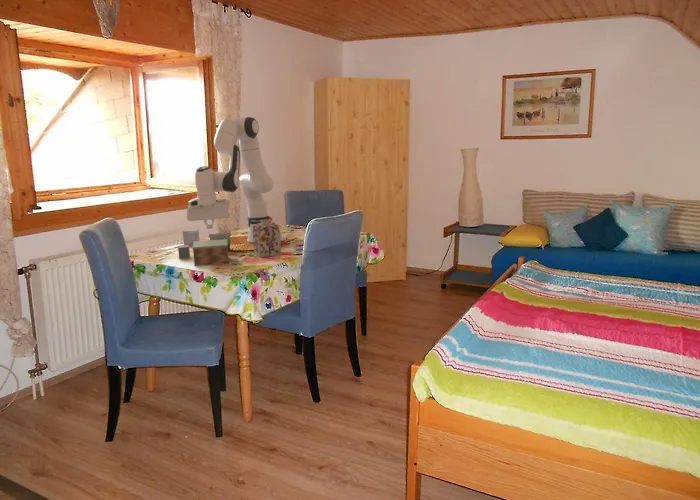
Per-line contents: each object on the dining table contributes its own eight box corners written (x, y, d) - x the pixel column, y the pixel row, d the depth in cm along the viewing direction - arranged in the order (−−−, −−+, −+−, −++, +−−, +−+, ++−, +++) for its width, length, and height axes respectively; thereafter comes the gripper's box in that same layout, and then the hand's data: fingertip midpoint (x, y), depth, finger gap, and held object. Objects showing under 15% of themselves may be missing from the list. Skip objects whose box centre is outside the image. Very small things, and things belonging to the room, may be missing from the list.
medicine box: (200, 244, 311) (198, 229, 309) (197, 246, 307) (195, 231, 305) (186, 244, 312) (185, 229, 310) (183, 246, 308) (182, 231, 306)
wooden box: (228, 257, 277) (227, 242, 275) (228, 263, 266) (227, 247, 264) (195, 260, 274) (194, 244, 272) (194, 265, 263) (193, 249, 261)
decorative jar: (253, 253, 286) (251, 219, 281) (275, 250, 290) (273, 217, 286) (259, 257, 275) (257, 222, 271) (281, 255, 279) (279, 220, 275)
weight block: (190, 256, 283) (188, 244, 282) (189, 258, 278) (188, 246, 277) (180, 256, 282) (178, 245, 281) (179, 259, 277) (178, 247, 276)
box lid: (227, 241, 275) (227, 239, 275) (227, 246, 264) (227, 244, 264) (193, 243, 272) (193, 241, 272) (192, 249, 261) (192, 247, 260)
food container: (212, 254, 286) (210, 235, 284) (209, 251, 292) (207, 233, 290) (235, 250, 292) (233, 232, 290) (232, 248, 297) (230, 230, 295)
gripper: (228, 197, 269) (231, 225, 273) (185, 201, 265) (189, 228, 268) (228, 199, 263) (231, 227, 267) (185, 203, 259) (188, 231, 262)
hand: (209, 228), depth 267 cm, fingers closed
